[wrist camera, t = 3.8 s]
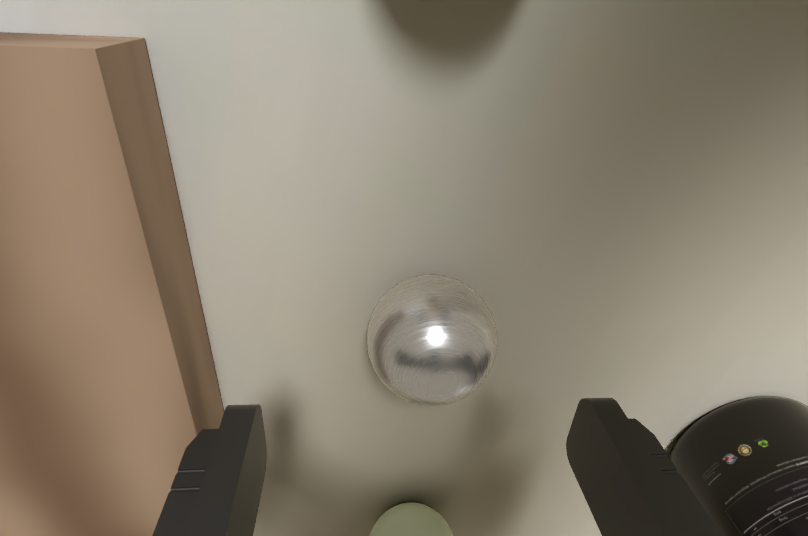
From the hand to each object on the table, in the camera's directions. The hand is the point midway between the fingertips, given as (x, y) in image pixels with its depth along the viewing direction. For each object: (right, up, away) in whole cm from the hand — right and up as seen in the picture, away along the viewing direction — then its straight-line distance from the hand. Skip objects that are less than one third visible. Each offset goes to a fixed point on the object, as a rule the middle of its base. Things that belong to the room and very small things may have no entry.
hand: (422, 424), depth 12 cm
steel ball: (0, +2, +3) cm, 3 cm away
